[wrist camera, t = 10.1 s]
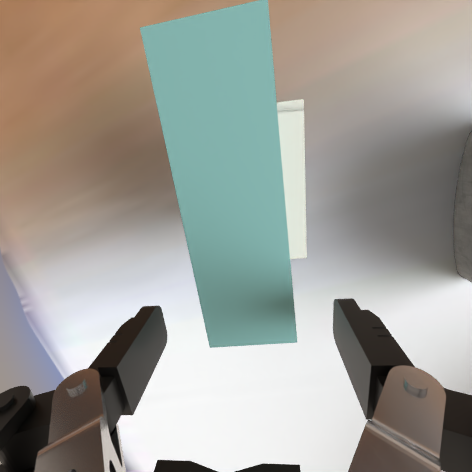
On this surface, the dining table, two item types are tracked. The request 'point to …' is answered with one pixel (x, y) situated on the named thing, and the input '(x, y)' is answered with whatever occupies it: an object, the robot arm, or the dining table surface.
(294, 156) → the cream rectangular block
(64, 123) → the dining table surface
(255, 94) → the teal rectangular block
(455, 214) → the hip flask
